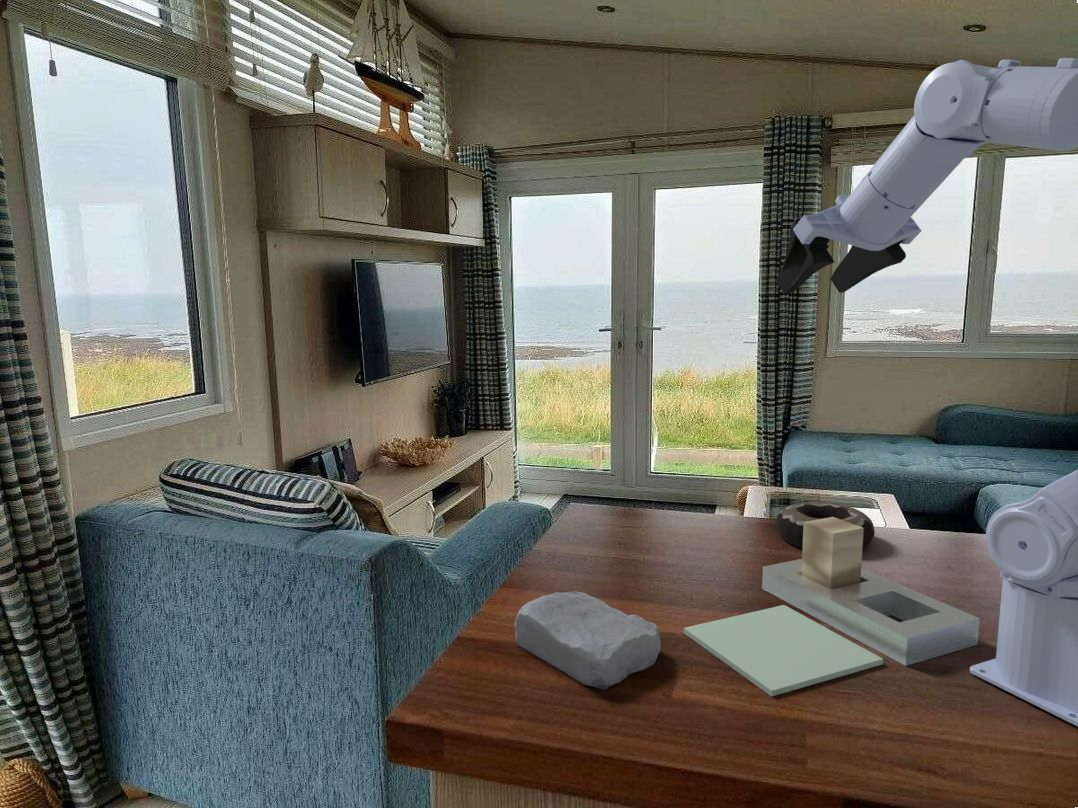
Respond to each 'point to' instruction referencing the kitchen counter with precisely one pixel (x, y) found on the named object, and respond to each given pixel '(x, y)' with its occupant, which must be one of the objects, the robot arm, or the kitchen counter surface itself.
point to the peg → (832, 552)
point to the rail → (877, 613)
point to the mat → (781, 649)
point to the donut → (797, 514)
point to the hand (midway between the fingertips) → (810, 286)
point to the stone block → (587, 638)
